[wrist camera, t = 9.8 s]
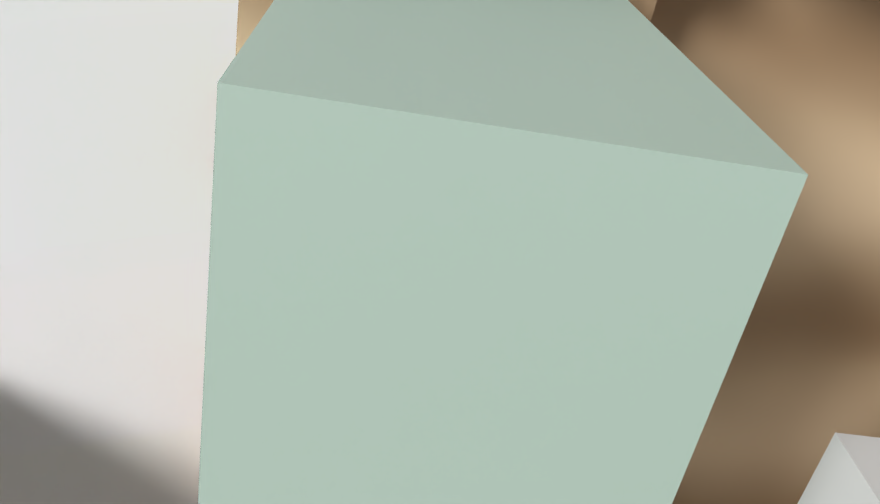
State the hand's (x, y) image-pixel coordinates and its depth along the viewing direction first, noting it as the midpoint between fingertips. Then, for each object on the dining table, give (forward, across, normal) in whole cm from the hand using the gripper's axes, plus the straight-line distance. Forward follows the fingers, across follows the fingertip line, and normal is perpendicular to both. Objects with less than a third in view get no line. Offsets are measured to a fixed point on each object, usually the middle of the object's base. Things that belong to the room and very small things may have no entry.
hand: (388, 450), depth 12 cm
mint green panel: (+8, 0, 0) cm, 8 cm away
